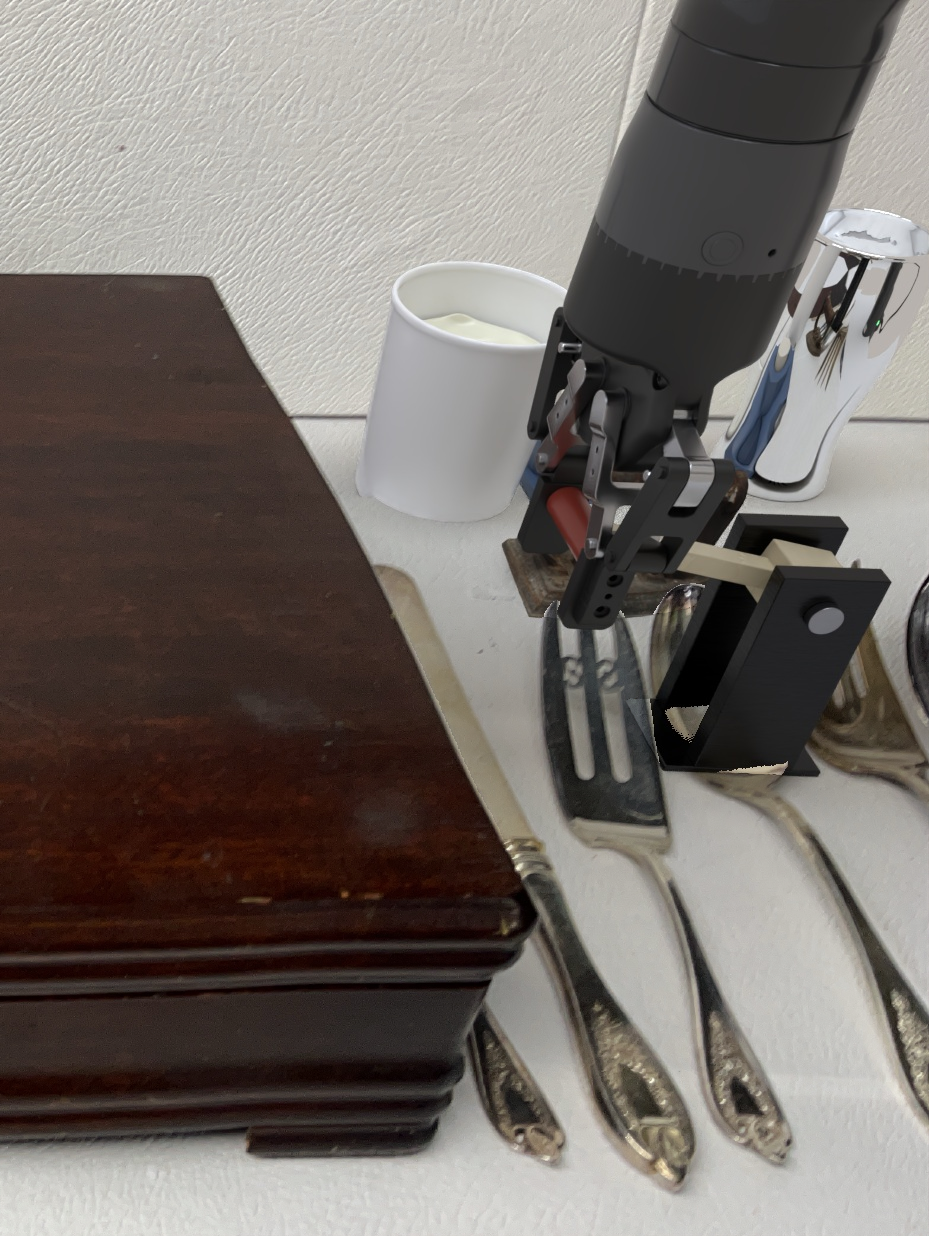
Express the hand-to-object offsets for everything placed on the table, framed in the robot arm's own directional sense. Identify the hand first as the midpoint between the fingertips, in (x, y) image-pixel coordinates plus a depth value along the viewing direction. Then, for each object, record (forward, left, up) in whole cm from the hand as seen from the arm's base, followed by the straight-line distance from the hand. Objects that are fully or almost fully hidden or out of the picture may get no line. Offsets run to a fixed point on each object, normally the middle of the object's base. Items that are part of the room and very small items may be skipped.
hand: (561, 584), depth 78 cm
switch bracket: (-10, 0, -9) cm, 14 cm away
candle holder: (-2, -22, -10) cm, 24 cm away
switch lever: (-5, 0, 0) cm, 5 cm away
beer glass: (-22, -25, -10) cm, 35 cm away
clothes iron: (-9, -12, -10) cm, 18 cm away
